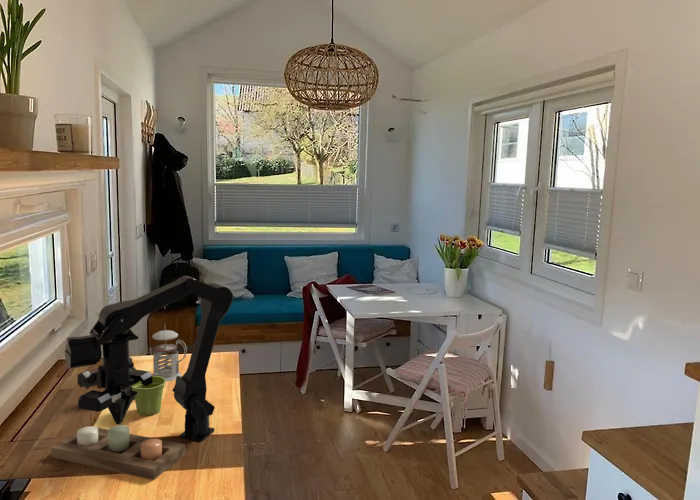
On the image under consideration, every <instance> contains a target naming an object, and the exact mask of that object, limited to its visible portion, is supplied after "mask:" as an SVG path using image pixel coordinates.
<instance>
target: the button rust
mask: <svg viewBox="0 0 700 500" xmlns="http://www.w3.org/2000/svg"><path fill="white" fill-rule="evenodd" d="M161 440H162V439H160V440H159V439H158V438H154V439H148V440H145V441H143V442H142V443H141V458H142V459H147V460H151V461H155V460H157V459H158V458H159V457H160V456H162V441H161Z"/></svg>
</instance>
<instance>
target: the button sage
mask: <svg viewBox="0 0 700 500" xmlns="http://www.w3.org/2000/svg"><path fill="white" fill-rule="evenodd" d="M129 434H130V427H129V426H128V425H125V424H119V425H118V424H117V425H114V426H111V427H110V428H108V448H109V451H112V452H113V453H120V452H125V451H126V449H128V448H129V446H130V444H129Z"/></svg>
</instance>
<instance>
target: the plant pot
mask: <svg viewBox="0 0 700 500" xmlns="http://www.w3.org/2000/svg"><path fill="white" fill-rule="evenodd" d="M152 380H153V383H151V384H149V385H147V386H143V385H142V381H140V382H138V383H137V384H135V385H133V386H132V388H133V391H137V395H135V399H134V401H135V406H136V407H135V408H136V412H137V414H138V415H140V416H142V417H144V416H145V417H147V416H150V415H157V414H158V413H160V411H161V408H162V399H163V391H164V389H165V384H166V382H167V381H166V379H165V378H163V377H159V376H152Z"/></svg>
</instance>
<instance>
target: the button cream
mask: <svg viewBox="0 0 700 500" xmlns="http://www.w3.org/2000/svg"><path fill="white" fill-rule="evenodd" d="M88 426H89V427H88ZM88 426H84V427H82V428H79V429H78V430H76V433H77V445H80V446H84V447H90V446H92V445H94V444H95V443H97V442H98V428H99V427H98V428H97V426H92V425H88Z"/></svg>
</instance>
